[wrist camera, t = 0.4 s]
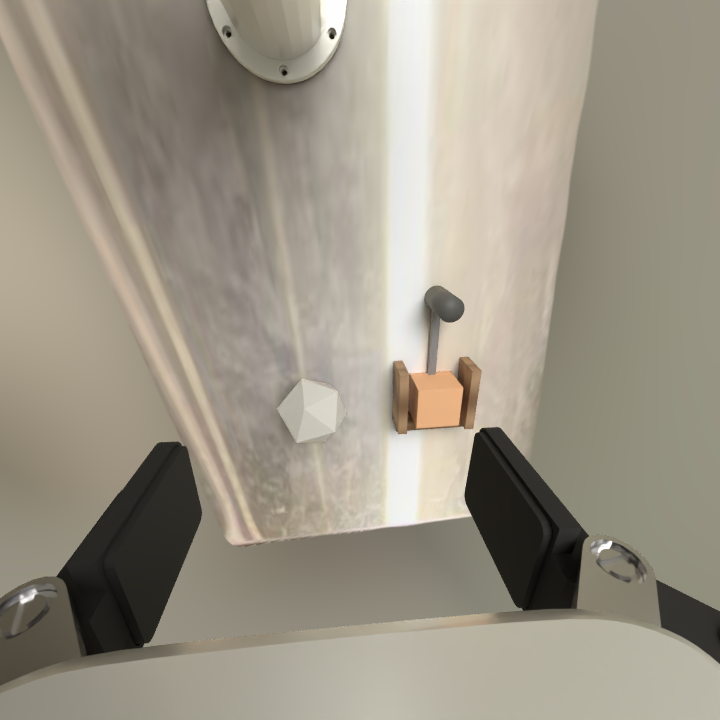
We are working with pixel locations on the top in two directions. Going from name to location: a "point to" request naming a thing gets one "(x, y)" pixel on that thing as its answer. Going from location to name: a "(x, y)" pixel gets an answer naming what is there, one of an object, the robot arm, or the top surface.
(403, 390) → the shelf lane
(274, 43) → the robot arm
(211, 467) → the top surface
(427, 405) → the block
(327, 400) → the die
